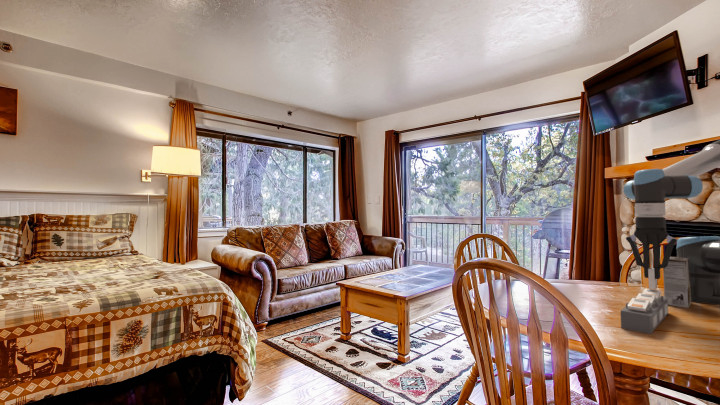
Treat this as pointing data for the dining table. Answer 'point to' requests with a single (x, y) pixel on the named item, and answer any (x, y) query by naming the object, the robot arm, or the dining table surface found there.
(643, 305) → the rocker front
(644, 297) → the rocker middle
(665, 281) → the coffee box
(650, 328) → the power strip
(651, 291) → the rocker back
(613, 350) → the dining table surface
